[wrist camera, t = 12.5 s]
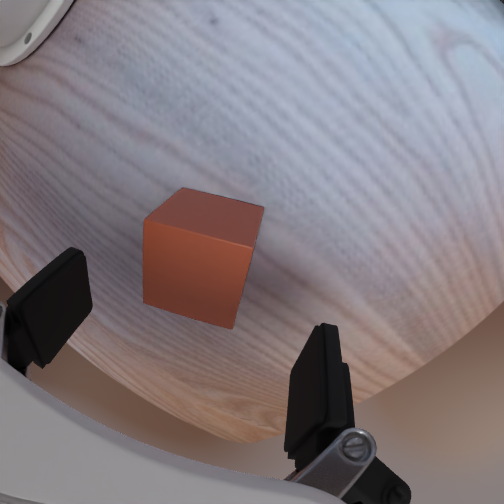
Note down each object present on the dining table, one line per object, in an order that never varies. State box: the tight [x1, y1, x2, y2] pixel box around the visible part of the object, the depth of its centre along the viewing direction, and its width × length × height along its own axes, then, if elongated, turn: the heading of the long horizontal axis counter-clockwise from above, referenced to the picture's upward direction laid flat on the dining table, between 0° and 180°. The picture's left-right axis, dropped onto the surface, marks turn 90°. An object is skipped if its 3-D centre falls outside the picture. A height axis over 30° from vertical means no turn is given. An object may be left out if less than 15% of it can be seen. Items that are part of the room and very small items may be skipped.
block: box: [143, 188, 264, 329], centre depth 13 cm, size 4×4×4 cm
